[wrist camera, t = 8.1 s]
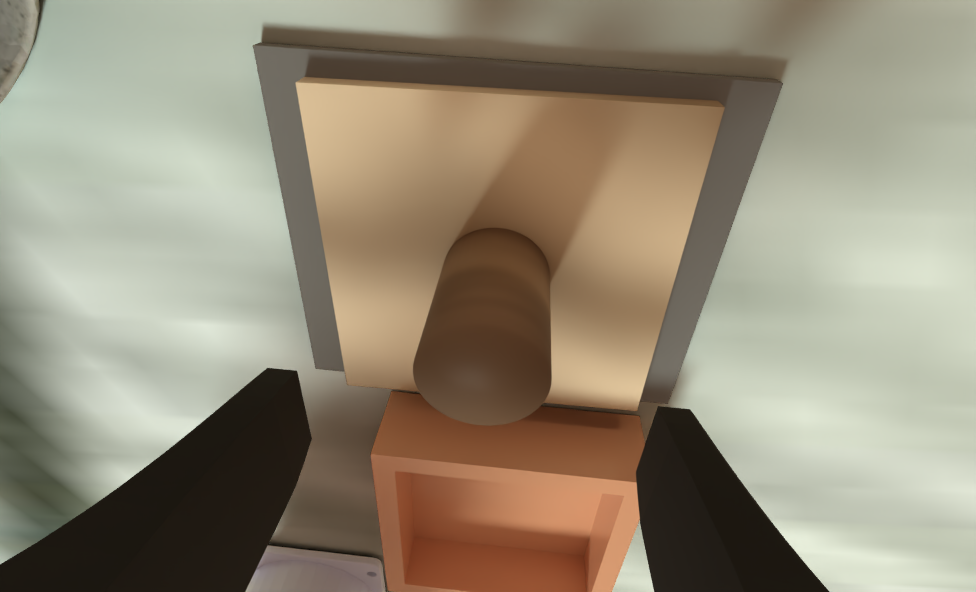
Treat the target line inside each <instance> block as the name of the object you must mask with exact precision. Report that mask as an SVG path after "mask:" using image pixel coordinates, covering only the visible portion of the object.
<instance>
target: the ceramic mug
mask: <svg viewBox="0 0 976 592" xmlns="http://www.w3.org/2000/svg"><path fill="white" fill-rule="evenodd" d="M39 11H40V9H39V0H0V103H1V102H2V101H3V100H4V98H5V97H6V96H7V94H8V93H9V92H10V90H11V89H12V87H13V85H14V84H15V82H16V80H17V79H18V77H19V75H20V73H21V72H22V70H23V68H24V66H25V63H26V61H27V58H28V56H29V54H30V51H31V49H32V46H33V43H34V39H35V35H36V31H37V27H38V16H39Z"/></svg>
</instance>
